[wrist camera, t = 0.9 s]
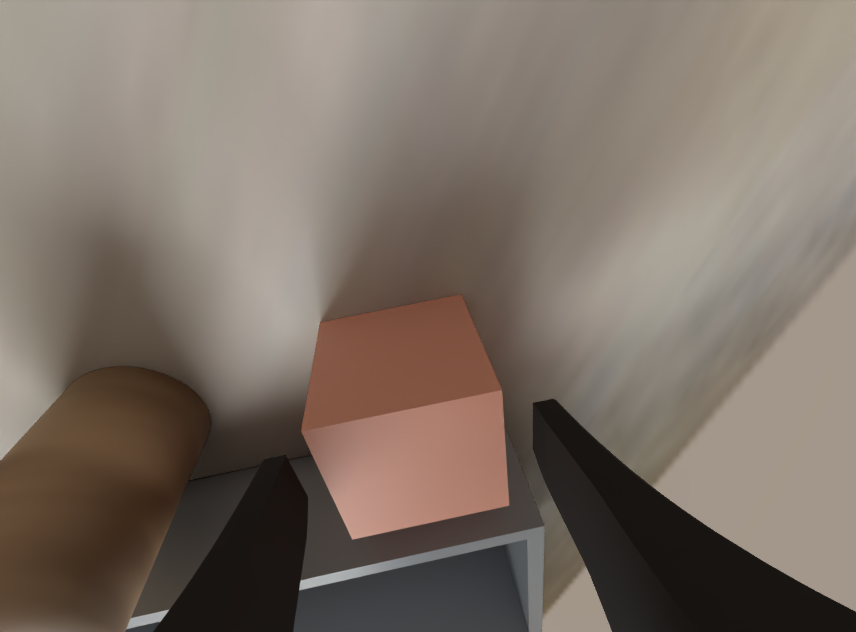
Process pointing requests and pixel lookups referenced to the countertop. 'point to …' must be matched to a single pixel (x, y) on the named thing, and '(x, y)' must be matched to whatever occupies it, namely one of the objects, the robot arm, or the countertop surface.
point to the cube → (406, 417)
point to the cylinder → (94, 499)
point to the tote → (375, 562)
